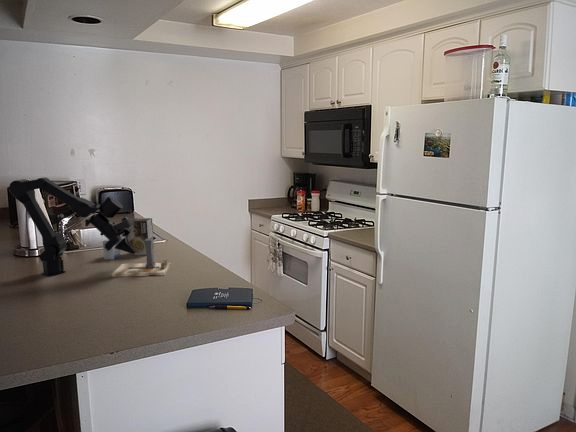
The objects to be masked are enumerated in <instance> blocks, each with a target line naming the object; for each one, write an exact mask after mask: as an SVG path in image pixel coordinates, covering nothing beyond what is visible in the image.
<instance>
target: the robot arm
mask: <svg viewBox="0 0 576 432" xmlns="http://www.w3.org/2000/svg"><path fill="white" fill-rule="evenodd" d="M38 189H41V190H43V191H44V192H46V193H47V194H49V195H51V196H53V197H54V198H55V199H57V200H59V201H61V202H63V203H64V204H66V205H67V206H68V207H69V208H70V209H71V210H72V212H73V213H75V214H76V215H77V216H79V217H80V218H86V219H84V222H85V227H89V226H91V225H92V226H93V227H94V228H95V230H98V232H99V235H100V236H102V237H103V236H104V237H105V238H106V239H109V241H108V242H107V243H106V244H105V249H107V250H108V251H109V250H111V249H112V247H113V246H114V245H116V247H115V248H114V249H119V250H120V251H123V252H126V253H130V254H131V253H132V254H134V253H135V252H136V251H135V250H134V248H133V247H132V245H131V243H130V242H129V238H130V236H129V233H130V232H131V231H132V230H131V229H130V228H129V227H131V226H132V225H133V224H132V222H131V221H132V220H131V218H130V217H128V216H124V217H122V218H121V221H120V222H115V221H111V220H110V219H109V218H111V219H113V218H114V217H115V216H116V215H117V214H118V213H119V212H120V211H121V210H122V209H123V204H122V203H121V202H120V201H118V200H116V198H113V197H111V196H107V197H106V199H105V200H104V201H103V202H102V203H101V204H98V203H94V202H93V201H91V200H89V199H86V198H83V197H80V196H77V195H75V194H73V193H72V192H70V191H68V190H67V189H64V188H63V187H62V186H60V185H58V184H57V183H56V182H54V181H52V180H50V178H48V177H45V176H43V177H39V178H37V179H32V180H29V179H25V178H22V179H17V180H13V181H11V182H10V183H9V186H8V190H9V192H10V193H11V195H12V196H13V197H14V199H16V200H17V201H18V202H20V203H21V204H22V205H23V207H24V209H25V210H26V211H27V213H28V215H29V216H30V218H31V221H32V222H33V224H34V226H35V228H37V231H38V232H39V234H40V235H41V238H42V239H41V240H42V246H43V249H44V251H42V253H41V254H39V256H38V258H39V260H40V262H42V263H41V264H42V272H41V273H40V274H41V275H45V276H48V277H53V276H56V275H59V274H60V275H61V274H64V273H66V270H65V269H64V260H63V253H64V252H65V251H66V250H67V247H68V245H67V242H68V240H67V239H66V238H65V236H64V235H63V233H62V232H60V233H58V232H56V231H55V230H54V228H53V227H52V225H51V223H50V221H49V220H48V218H47V216H46V215H45V213H44V211H43V210H42V208H41V206H40V204H39V203H38V201H37V199H36V191H35V190H38ZM97 212H98V213H97ZM96 213H97V214H96ZM88 217H89V218H88Z"/></svg>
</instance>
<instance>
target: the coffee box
mask: <svg viewBox="0 0 576 432" xmlns="http://www.w3.org/2000/svg"><path fill="white" fill-rule="evenodd" d="M130 219H131V218H130ZM131 220H132V221H131V222H132V224H133V225H132V226H131V227H129V228H130V229H131V230H132V231H131V232H130V233H129V234H128V235H129V238H130V243H131V245H132V247H133V248H134V250H135V251H136V252H135V253H134V254H132V253H130V255H133V256H139V255H140V256H141V255H143V256H146V244H145V240H146V239H147V238H153V239H154V232H153V231H154V229H153V217H152V218H150V217H147V218H146V217H144V218H143V217H139V218H138V217H137V218H134V217H133V218H132V219H131ZM154 243H155V242H153V253H155V246H154V245H155V244H154Z"/></svg>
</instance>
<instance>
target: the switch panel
mask: <svg viewBox="0 0 576 432" xmlns="http://www.w3.org/2000/svg"><path fill="white" fill-rule="evenodd" d="M154 263H155V266H154V268H146V264H147V262H146V263H145V262H143V263H141V262H140V263H122V264H120V265H119V266H118V268H116V269H115V270H114V271H113V272H112V273H111V277H112V278H115V277H118V278H120V277H121V278H122V277H150V276H149V275H156V276H166V274H167V273H168V271H169V270H170V268H171V266H172V262H167V259H163V260H162V261H161V262H154ZM166 272H167V273H166Z"/></svg>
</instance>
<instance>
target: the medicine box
mask: <svg viewBox="0 0 576 432" xmlns="http://www.w3.org/2000/svg"><path fill="white" fill-rule="evenodd" d="M108 241H109V239H107V238H106V239H105V240H102V249H103V258H104V260H107V261H108V260H116V259H117V258H119V257H120V256H121V250H119V249H114V248H115V247H116V245H114V246H113V247H112V249H111V250H109V251H108V250H107V249H105V244H106V243H107V242H108Z"/></svg>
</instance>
